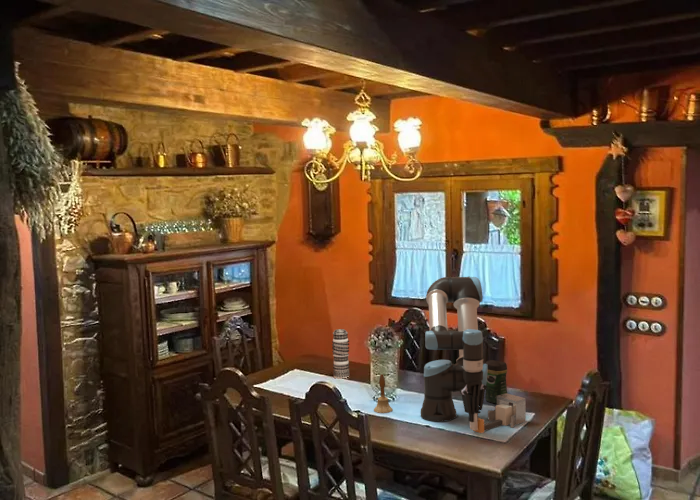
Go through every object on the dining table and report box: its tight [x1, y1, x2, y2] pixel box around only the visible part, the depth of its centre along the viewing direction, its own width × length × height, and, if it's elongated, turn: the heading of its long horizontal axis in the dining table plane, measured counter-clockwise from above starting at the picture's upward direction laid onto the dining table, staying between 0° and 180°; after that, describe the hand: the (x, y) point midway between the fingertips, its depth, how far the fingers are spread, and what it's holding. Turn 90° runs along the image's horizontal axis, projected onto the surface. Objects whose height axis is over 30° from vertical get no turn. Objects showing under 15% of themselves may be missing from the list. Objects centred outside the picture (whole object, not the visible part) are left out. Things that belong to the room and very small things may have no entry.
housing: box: [487, 392, 527, 429], centre depth 274 cm, size 10×13×10 cm
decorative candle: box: [331, 328, 351, 380], centre depth 351 cm, size 9×9×25 cm
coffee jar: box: [484, 359, 508, 405], centre depth 301 cm, size 10×8×19 cm
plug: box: [472, 403, 513, 434], centre depth 268 cm, size 19×5×7 cm, turn 127°
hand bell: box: [373, 373, 393, 414], centre depth 293 cm, size 8×8×16 cm
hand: (473, 429), depth 262 cm, fingers closed
